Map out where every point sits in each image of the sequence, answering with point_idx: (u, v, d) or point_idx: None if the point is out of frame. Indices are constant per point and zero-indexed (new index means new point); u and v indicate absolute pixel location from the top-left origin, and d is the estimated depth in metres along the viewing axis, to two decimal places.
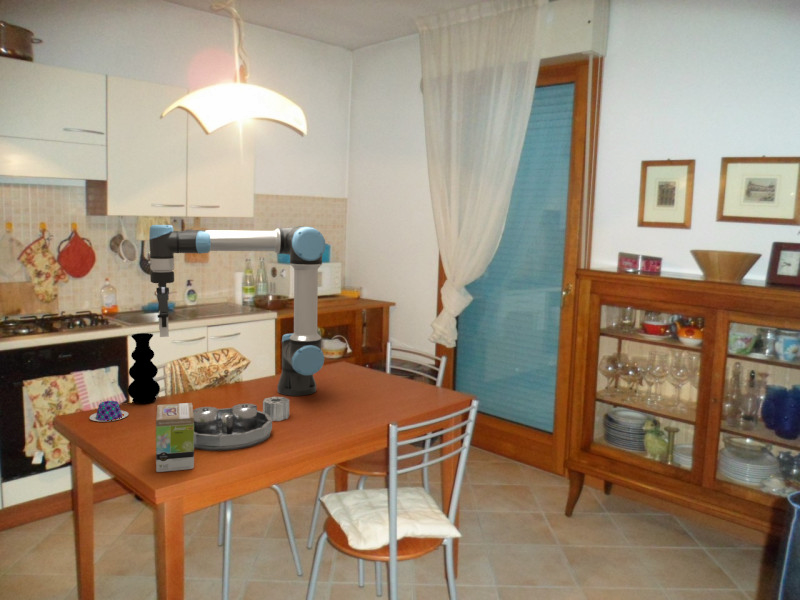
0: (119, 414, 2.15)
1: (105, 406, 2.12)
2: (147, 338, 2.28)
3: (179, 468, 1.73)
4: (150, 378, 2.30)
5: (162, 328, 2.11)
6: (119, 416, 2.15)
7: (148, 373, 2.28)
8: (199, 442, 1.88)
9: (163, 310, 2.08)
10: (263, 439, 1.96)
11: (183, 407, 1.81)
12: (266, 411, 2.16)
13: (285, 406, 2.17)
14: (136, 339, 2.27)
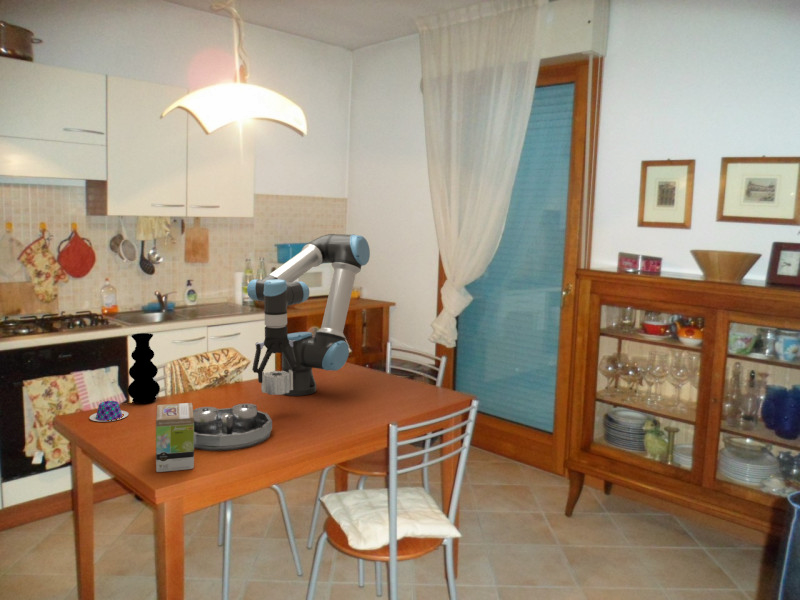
0: (119, 414, 2.14)
1: (105, 406, 2.12)
2: (147, 338, 2.28)
3: (179, 468, 1.73)
4: (150, 378, 2.30)
5: (261, 383, 2.17)
6: (119, 416, 2.14)
7: (148, 373, 2.28)
8: (199, 442, 1.88)
9: (253, 366, 2.15)
10: (263, 439, 1.96)
11: (183, 407, 1.81)
12: (267, 385, 2.15)
13: (286, 380, 2.16)
14: (136, 339, 2.27)
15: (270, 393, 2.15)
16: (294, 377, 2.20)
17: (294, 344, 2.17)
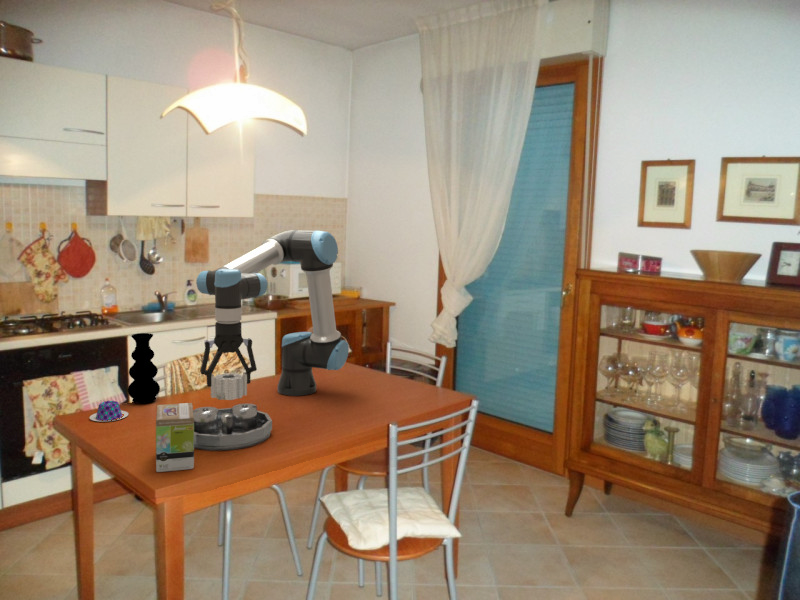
0: (118, 414, 2.14)
1: (104, 406, 2.12)
2: (147, 338, 2.28)
3: (179, 468, 1.73)
4: (150, 378, 2.30)
5: None
6: (118, 416, 2.14)
7: (148, 373, 2.28)
8: (199, 442, 1.88)
9: (201, 367, 1.88)
10: (263, 439, 1.96)
11: (183, 407, 1.81)
12: (217, 389, 1.89)
13: (239, 383, 1.90)
14: (136, 339, 2.27)
15: (220, 398, 1.88)
16: (249, 381, 1.93)
17: (249, 343, 1.91)
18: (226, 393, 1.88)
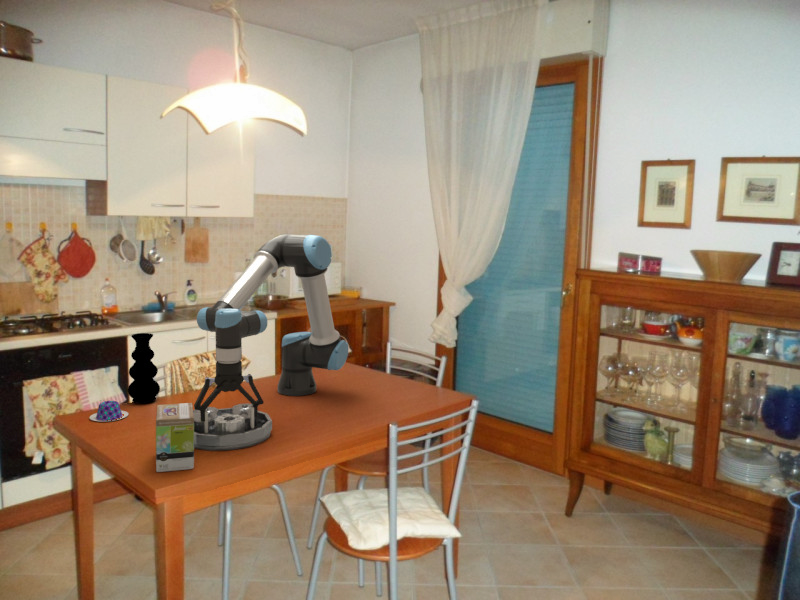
0: (118, 415, 2.14)
1: (104, 406, 2.12)
2: (147, 338, 2.28)
3: (179, 468, 1.73)
4: (150, 378, 2.30)
5: (204, 421, 1.91)
6: (118, 417, 2.14)
7: (148, 373, 2.28)
8: (199, 442, 1.88)
9: (196, 402, 1.89)
10: (263, 439, 1.96)
11: (183, 407, 1.81)
12: (217, 431, 1.91)
13: (239, 426, 1.91)
14: (136, 339, 2.27)
15: None
16: (256, 414, 1.95)
17: (250, 379, 1.93)
18: None
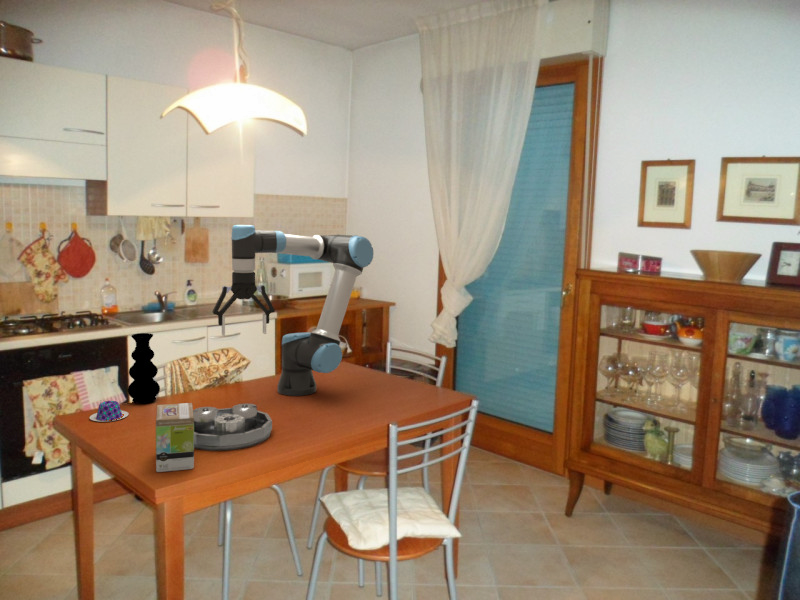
0: (117, 415, 2.14)
1: (103, 406, 2.12)
2: (147, 338, 2.28)
3: (179, 468, 1.73)
4: (150, 378, 2.30)
5: None
6: (117, 417, 2.14)
7: (148, 373, 2.28)
8: (199, 442, 1.88)
9: (214, 308, 2.11)
10: (263, 439, 1.96)
11: (183, 407, 1.81)
12: (217, 431, 1.91)
13: (239, 426, 1.91)
14: (136, 339, 2.27)
15: None
16: (268, 321, 2.17)
17: (262, 289, 2.15)
18: None
